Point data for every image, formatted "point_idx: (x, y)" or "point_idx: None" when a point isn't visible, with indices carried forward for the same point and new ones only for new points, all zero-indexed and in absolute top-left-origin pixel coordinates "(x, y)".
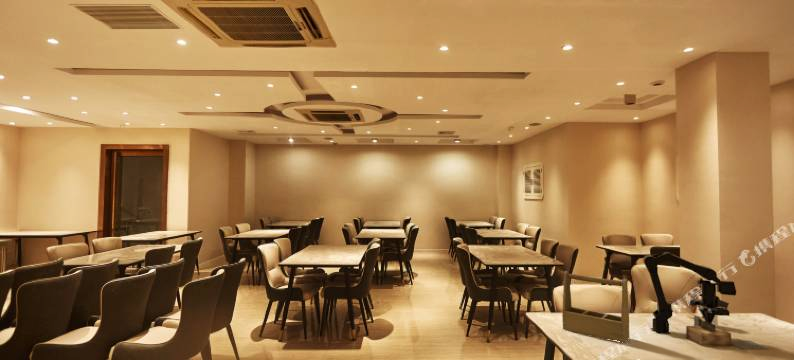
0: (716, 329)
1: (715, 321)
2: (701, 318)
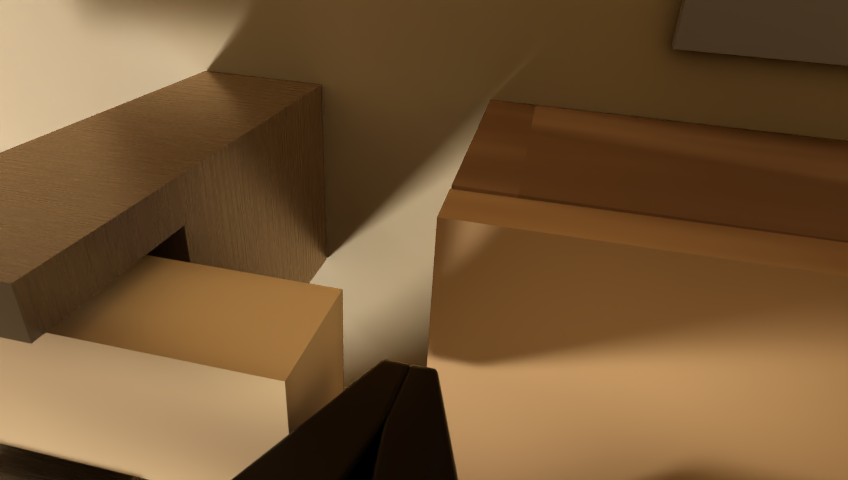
0: (754, 439)
1: None
2: (64, 423)
